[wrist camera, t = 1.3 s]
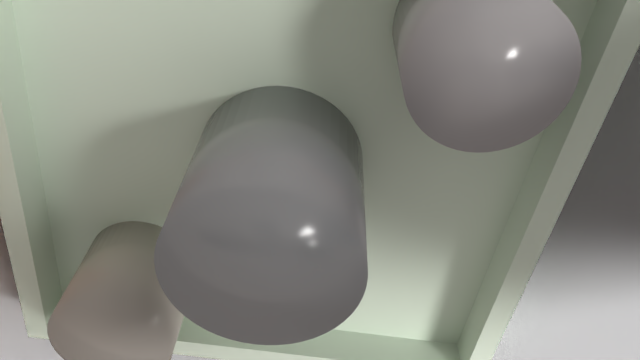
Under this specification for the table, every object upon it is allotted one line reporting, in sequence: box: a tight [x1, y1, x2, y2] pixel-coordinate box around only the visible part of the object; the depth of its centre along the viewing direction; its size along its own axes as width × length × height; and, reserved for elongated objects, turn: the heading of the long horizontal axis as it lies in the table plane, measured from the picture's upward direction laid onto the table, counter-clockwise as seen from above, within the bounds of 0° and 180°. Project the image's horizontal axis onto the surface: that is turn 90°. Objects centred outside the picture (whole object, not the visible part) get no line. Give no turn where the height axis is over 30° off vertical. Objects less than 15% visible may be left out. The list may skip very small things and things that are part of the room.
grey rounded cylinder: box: [154, 86, 368, 345], centre depth 12 cm, size 4×4×4 cm
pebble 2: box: [392, 0, 582, 153], centre depth 11 cm, size 3×3×3 cm
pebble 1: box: [47, 221, 184, 360], centre depth 15 cm, size 3×3×3 cm
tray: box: [0, 0, 640, 360], centre depth 14 cm, size 13×13×2 cm
